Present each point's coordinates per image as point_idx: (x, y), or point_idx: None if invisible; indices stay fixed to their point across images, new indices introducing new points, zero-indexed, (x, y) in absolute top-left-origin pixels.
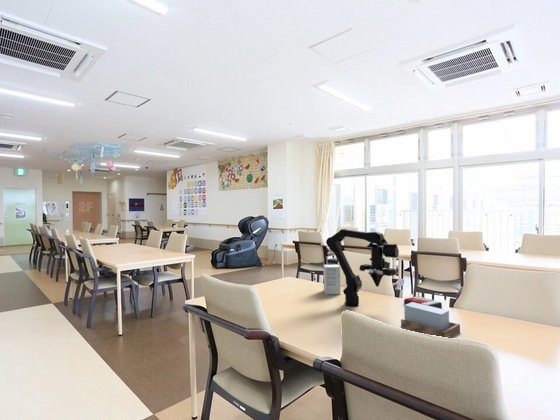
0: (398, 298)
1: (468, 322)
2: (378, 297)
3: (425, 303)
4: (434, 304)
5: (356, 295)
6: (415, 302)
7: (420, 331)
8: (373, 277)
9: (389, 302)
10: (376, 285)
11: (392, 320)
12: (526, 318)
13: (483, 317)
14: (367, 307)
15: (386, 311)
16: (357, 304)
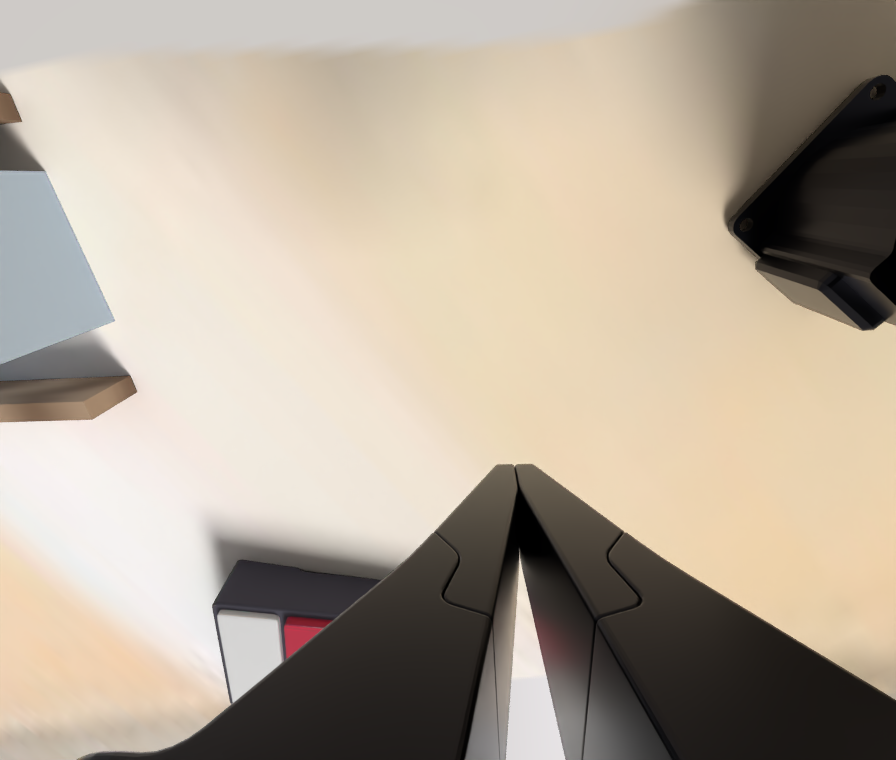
0: None
1: (8, 570)
2: None
3: (250, 631)
4: (221, 655)
5: (866, 253)
6: (333, 619)
7: None
8: (606, 605)
9: None
10: (518, 472)
11: (182, 170)
12: (13, 754)
13: (64, 673)
14: (619, 288)
15: (409, 346)
16: (759, 243)
